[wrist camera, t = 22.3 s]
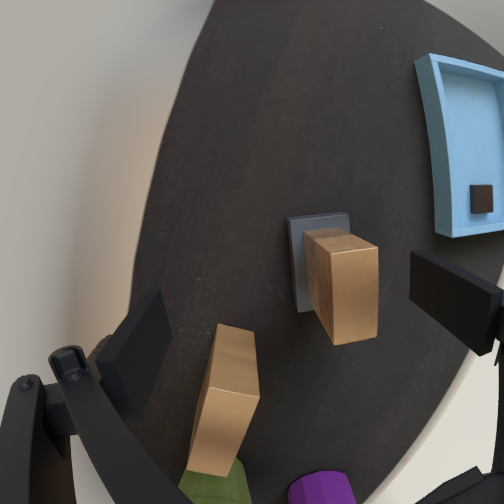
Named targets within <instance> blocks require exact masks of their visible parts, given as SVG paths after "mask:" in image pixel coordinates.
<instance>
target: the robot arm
mask: <svg viewBox="0 0 504 504" xmlns="http://www.w3.org/2000/svg"><path fill="white" fill-rule="evenodd" d="M409 299H410V300H411V301H413V302H414V303H415V304H416V305H418V306H419V307H420V308H421V309H423V310H424V311H425V312H426V313H428V314H429V315H430V316H431V317H433V318H434V319H435V320H436V321H438V322H439V323H440V324H441V325H442V326H444V327H445V328H446V329H447V330H448V331H450V332H451V333H452V334H453V335H454V336H456V337H457V338H458V339H459V340H460V341H462V342H463V343H464V344H465V345H466V346H468V347H469V348H470V349H471V350H472V351H473V352H475V353H476V354H477V355H478V356H482V355H485V354H487V353H489V352H491V351H492V348H493V344H494V340H495V338H496V339H497V340H498V341H500V345H499V349H498V353H497V357H496V360H495V364H494V366H496V365H497V363H498V362H499V400H498V403H499V404H498V420H497V432H496V442H495V450H494V457H493V464H492V470H491V472H490V473H485V474H482V473H481V472H480V470H479V469H478V467H477V466H475V467H473V468H472V469H470V470H468V471H466V472H464V473H462V474H460V475H458V476H456V477H454V478H452V479H450V480H448V481H446V482H444V483H443V484H441V485H440V486H439V487H437V488H436V489H435V490H433V491H432V492H431V493H429V494H428V495H426V496H425V497H424V498H422V499H421V500H419V501H418V502H416V503H415V504H504V290H503V289H501V288H499V287H497V286H495V285H494V284H492V283H490V282H488V281H486V280H484V279H482V278H480V277H478V276H476V275H474V274H472V273H470V272H468V271H466V270H464V269H462V268H460V267H458V266H456V265H454V264H451V263H449V262H447V261H445V260H443V259H441V258H439V257H437V256H435V255H432V254H430V253H428V252H426V251H424V250H417V251H411V252H410V293H409ZM171 339H172V333H171V329H170V325H169V321H168V317H167V313H166V309H165V305H164V301H163V297H162V293H161V288H156V289H147V290H146V291H145V292H144V293H143V295H142V296H141V297H140V298H139V300H138V301H137V302H136V304H135V305H134V306H133V308H132V309H131V310H130V312H129V313H128V314H127V316H126V317H125V318H124V320H123V321H122V322H121V324H120V325H119V326H118V328H117V329H116V331H115V332H114V333H113V335H108V336H106V337H105V338H104V339H102V340H101V341H100V342H99V343H98V344H97V346H96V348H95V349H94V350H93V351H92V353H91V354H90V355H89V356H88V358H87V359H86V358H85V355H84V352H83V350H82V348H81V347H80V346H76V345H71V346H66V347H62V348H60V349H58V350H56V351H54V352H53V353H52V354H51V355H50V356H49V360H48V361H49V364H50V366H51V368H52V370H53V372H54V375H55V377H56V379H57V381H58V383H54V384H48V385H43V383H42V381H41V379H40V377H39V376H37V375H34V374H30V375H26V376H21V378H20V377H19V378H18V379H17V380H16V381H15V382H14V383H13V384H12V386H11V389H10V392H9V396H8V399H7V403H6V406H5V410H4V414H3V418H2V422H1V426H0V504H77V503H76V496H75V489H74V481H73V471H72V462H71V446H70V435H76V434H77V435H78V434H79V436H80V439H81V441H82V443H83V445H84V447H85V449H86V451H87V453H88V455H89V457H90V459H91V461H92V463H93V465H94V467H95V469H96V471H97V473H98V474H99V476H100V478H101V480H102V482H103V483H104V485H105V487H106V489H107V491H108V492H109V494H110V496H111V497H112V499H113V501H114V502H115V504H194V503H193V502H192V501H191V500H190V499H189V498H188V497H187V496H186V495H185V494H184V493H183V492H182V491H181V490H180V489H179V488H178V487H177V485H176V484H175V483H174V482H173V481H172V480H171V479H170V478H169V477H168V476H167V474H166V473H165V472H164V471H163V470H162V469H161V467H160V466H159V465H158V464H157V463H156V462H155V460H154V459H153V458H152V457H151V456H150V454H149V453H148V452H147V451H146V449H145V448H144V447H143V446H142V444H141V443H140V442H139V440H138V439H137V438H136V436H135V435H134V434H133V432H132V431H131V430H130V428H129V427H128V426H127V424H126V423H125V422H141V420H142V418H143V415H144V412H145V409H146V406H147V403H148V401H149V398H150V395H151V392H152V390H153V387H154V384H155V381H156V379H157V376H158V373H159V371H160V368H161V365H162V362H163V360H164V357H165V355H166V352H167V349H168V347H169V344H170V341H171Z"/></svg>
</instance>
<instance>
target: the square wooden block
mask: <svg viewBox="0 0 504 504" xmlns="http://www.w3.org/2000/svg"><path fill="white" fill-rule="evenodd" d="M259 399H260V393H259V382H258V371H257V360H256V349H255V338H254V332H252V331H248V330H244V329H239V328H235V327H231V326H227V325H223V324H219V323H218V325H217V329H216V332H215V336H214V340H213V344H212V348H211V352H210V355H209V359H208V363H207V367H206V371H205V375H204V379H203V383H202V386H201V390H200V394H199V398H198V403H197V408H196V414H195V420H194V426H193V432H192V438H191V444H190V450H189V456H188V462H187V468H186V469H187V470H190V471H194V472H199V473H205V474H210V475H215V476H221V477H227V476H228V473H229V471H230V469H231V467H232V464H233V462H234V460H235V457H236V455H237V453H238V450H239V448H240V446H241V443H242V441H243V438H244V436H245V434H246V431H247V429H248V426H249V424H250V421H251V419H252V416H253V414H254V411H255V409H256V406H257V404H258V401H259Z"/></svg>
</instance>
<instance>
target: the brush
mask: <svg viewBox="0 0 504 504" xmlns="http://www.w3.org/2000/svg"><path fill="white" fill-rule="evenodd" d="M286 219H287V229H288V239H289V249H290V259H291V270H292V281H293V293H294V304H295V306H296V309H297V311H298V313H300V312H306V311H313V310H315V312H316V314H317V316H318V317H319V319H320V321H321V323H322V325H323V326H324V328H325V330H326V332H327V334H328V335H329V337H330V339H331V341H332V343H333V345H340V344H345V343H350V342H355V341H360V340H365V339H369V338H374V337H377V322H378V247H376V246H374V245H372V244H371V243H369V242H367V241H365V240H363V239H361V238H359V237H357V236H355V235H352V234H350V225H349V214H347V213H344V212H334V213H324V214H315V215H306V216H298V217H289V218H286Z"/></svg>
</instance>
